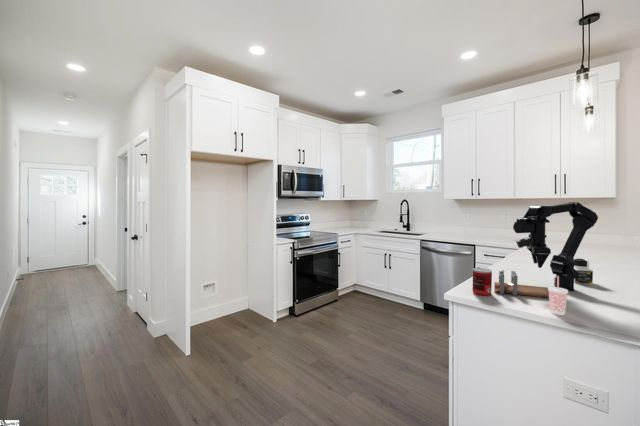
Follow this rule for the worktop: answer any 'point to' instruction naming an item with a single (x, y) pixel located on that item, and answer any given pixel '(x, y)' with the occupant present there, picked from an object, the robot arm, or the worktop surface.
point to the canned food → (482, 281)
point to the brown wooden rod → (523, 290)
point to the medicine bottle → (583, 272)
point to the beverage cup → (557, 299)
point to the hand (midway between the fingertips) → (537, 265)
